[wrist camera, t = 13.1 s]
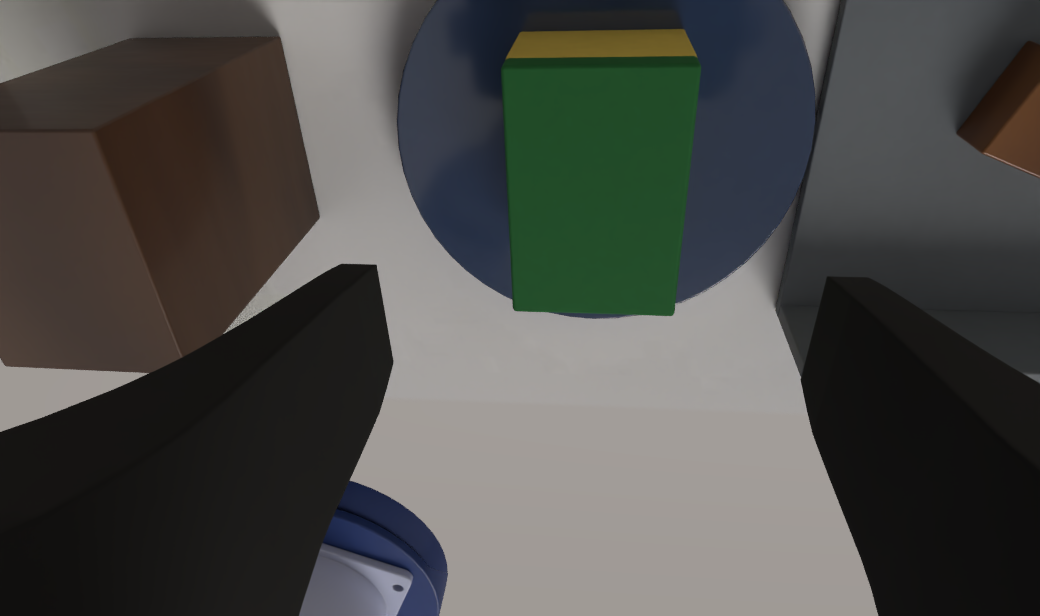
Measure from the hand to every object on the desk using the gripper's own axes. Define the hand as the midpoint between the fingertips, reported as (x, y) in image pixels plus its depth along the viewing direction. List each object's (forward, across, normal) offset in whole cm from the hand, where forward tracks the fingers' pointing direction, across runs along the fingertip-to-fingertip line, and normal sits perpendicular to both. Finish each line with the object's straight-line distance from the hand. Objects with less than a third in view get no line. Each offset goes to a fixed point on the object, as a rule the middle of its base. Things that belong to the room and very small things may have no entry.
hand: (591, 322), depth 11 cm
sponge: (+8, 0, 0) cm, 8 cm away
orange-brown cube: (+9, -11, -1) cm, 14 cm away
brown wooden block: (+9, +11, 0) cm, 14 cm away
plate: (+9, 0, 0) cm, 9 cm away
